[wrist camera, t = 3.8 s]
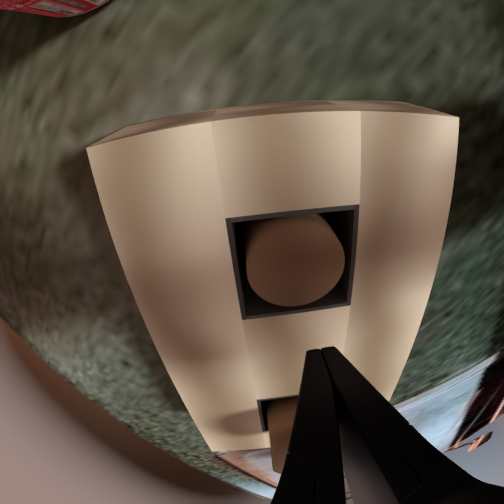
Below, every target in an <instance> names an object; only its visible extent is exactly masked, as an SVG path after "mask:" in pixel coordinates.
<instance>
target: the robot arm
mask: <svg viewBox="0 0 504 504" xmlns="http://www.w3.org/2000/svg"><path fill="white" fill-rule="evenodd" d="M343 469H344V472H343ZM344 473H345V476H346V480H347V483H348V486H349V490H350V493H351V497H352V500H353V503H354V504H504V487H502V486H497V485H492V484H488V483H485V482H482V481H480V480H478V479H476V478H474V477H473V476H471V475H470V474H468V473H467V472H466V471H465V470H463V469H462V468H461V467H459V466H458V465H457V464H455V463H454V462H453V461H451V460H450V459H449V458H447V457H446V456H445V455H444V454H442V453H441V452H440V451H439V450H437V449H436V448H435V447H434V446H433V445H431V444H430V443H429V442H428V441H427V440H426V439H425V438H424V437H423V436H422V435H421V434H420V433H419V432H418V431H417V430H416V429H415V428H414V427H413V426H412V425H409V422H408V421H407V420H406V419H405V418H404V417H403V416H402V415H401V414H400V413H399V412H398V411H397V410H396V409H395V408H394V407H393V406H392V405H391V404H390V403H389V402H388V401H387V400H386V399H385V397H384V396H383V395H382V394H381V393H380V392H379V391H378V390H377V389H376V388H375V387H374V386H373V385H372V384H371V383H370V382H369V381H368V380H367V379H366V378H365V377H364V376H363V375H362V374H361V373H360V372H359V371H358V370H357V369H356V368H355V367H354V366H353V364H352V363H351V362H350V361H349V360H348V359H347V358H346V357H345V356H344V355H343V354H342V353H341V352H340V351H339V350H338V349H337V348H336V347H334V346H330V347H324V348H321V350H320V349H312V350H307V351H306V355H305V361H304V367H303V373H302V379H301V384H300V390H299V395H298V400H297V406H296V411H295V416H294V421H293V426H292V431H291V435H290V440H289V445H288V449H287V454H286V458H285V462H284V466H283V470H282V473H281V477H280V480H279V483H278V486H277V489H276V491H275V494H274V496H273V499H272V501H271V504H346V494H345V482H344Z"/></svg>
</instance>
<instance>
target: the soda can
mask: <svg viewBox="0 0 504 504" xmlns="http://www.w3.org/2000/svg"><path fill="white" fill-rule="evenodd" d="M108 1H109V0H0V9H2V10H12V11H20V12H27V13H33V14H40V15H45V16H51V17H71V16H76V15H80V14H83V13H86V12H89V11H91V10H93V9H95V8H97V7H99V6H101V5H103V4H105V3H106V2H108Z"/></svg>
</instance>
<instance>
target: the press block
mask: <svg viewBox="0 0 504 504" xmlns="http://www.w3.org/2000/svg"><path fill="white" fill-rule="evenodd" d="M458 134H459V117H456V116H453V115H450V114H446V113H443V112H439V111H436V110H432V109H429V108H425V107H421V106H417V105H413V104H409V103H405V102H397V101H378V100H307V101H288V102H273V103H261V104H251V105H242V106H233V107H225V108H218V109H211V110H204V111H198V112H192V113H186V114H180V115H175V116H170V117H164V118H160V119H155V120H150V121H145V122H141V123H137V124H132V125H128V126H126V127H124V128H123V129H121V130H119V131H117V132H115V133H113V134H111V135H109V136H107V137H105V138H103V139H102V140H100V141H98V142H96V143H94V144H92V145H91V146H89V147H87V148H86V149H87V153H88V157H89V161H90V165H91V169H92V173H93V177H94V180H95V184H96V188H97V191H98V195H99V198H100V202H101V205H102V208H103V211H104V215H105V218H106V221H107V224H108V227H109V230H110V233H111V236H112V239H113V242H114V245H115V248H116V251H117V254H118V257H119V259H120V262H121V265H122V267H123V270H124V273H125V275H126V278H127V281H128V283H129V286H130V288H131V291H132V293H133V296H134V298H135V301H136V303H137V306H138V308H139V310H140V313H141V315H142V317H143V320H144V322H145V324H146V327H147V329H148V331H149V333H150V336H151V338H152V340H153V342H154V344H155V347H156V349H157V351H158V353H159V355H160V357H161V359H162V361H163V363H164V365H165V367H166V369H167V371H168V373H169V375H170V377H171V379H172V381H173V383H174V385H175V387H176V389H177V391H178V393H179V395H180V397H181V398H182V400H183V402H184V404H185V406H186V408H187V409H188V411H189V413H190V415H191V417H192V418H193V420H194V422H195V424H196V425H197V427H198V429H199V431H200V432H201V434H202V436H203V437H204V439H205V441H206V442H207V444H208V446H209V447H210V449H211V450H212V451H234V450H249V449H260V448H270V438H269V428H268V419H267V406H268V405H269V404H270V403H271V402H272V401H273V400H275V399H280V398H288V397H295V396H298V395H299V390H300V384H301V379H302V373H303V367H304V361H305V355H306V351H307V350H312V349H320V350H321V348H324V347H330V346H334V347H336V348H337V349H338V350H339V351H340V352H341V353H342V354H343V355H344V356H345V357H346V358H347V359H348V360H349V361H350V362H351V363H352V364H353V366H354V367H355V368H356V369H357V370H358V371H359V372H360V373H361V374H362V375H363V376H364V377H365V378H366V379H367V380H368V381H369V382H370V383H371V384H372V385H373V386H374V387H375V388H376V389H377V390H378V391H379V392H380V393H381V394H382V395H383V396H384V397H385V399H386V400H387V401H388V402H389V400H390V398H391V396H392V394H393V391H394V389H395V387H396V385H397V382H398V380H399V378H400V375H401V373H402V371H403V368H404V366H405V363H406V361H407V358H408V356H409V353H410V351H411V348H412V345H413V343H414V340H415V337H416V335H417V332H418V329H419V326H420V323H421V320H422V317H423V314H424V311H425V308H426V305H427V301H428V298H429V295H430V291H431V288H432V284H433V281H434V277H435V273H436V270H437V266H438V262H439V258H440V254H441V249H442V245H443V240H444V236H445V231H446V226H447V221H448V215H449V210H450V204H451V197H452V191H453V184H454V176H455V168H456V158H457V147H458ZM313 213H323V215H324V216H325V218H326V220H327V221H328V223H329V225H330V226H331V228H332V230H333V231H334V233H335V235H336V236H337V238H338V240H339V242H340V243H341V245H342V248H343V251H344V256H345V264H344V269H343V272H342V275H341V277H340V279H339V281H338V282H337V284H336V285H335V286H334V287H333V288H332V289H331V290H330V291H329V292H328V293H327V294H326V295H324V296H323V297H321V298H320V299H318V300H316V301H313V302H311V303H308V304H305V305H300V306H280V305H276V304H272V303H270V302H268V301H266V300H264V299H262V298H261V297H260V296H259V295H257V294H256V293H255V291H254V290H253V289H252V287H251V285H250V283H249V281H248V277H247V269H246V256H242V251H241V244H240V237H239V229H238V222H241V221H250V220H258V219H267V218H276V217H285V216H294V215H304V214H313Z"/></svg>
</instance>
